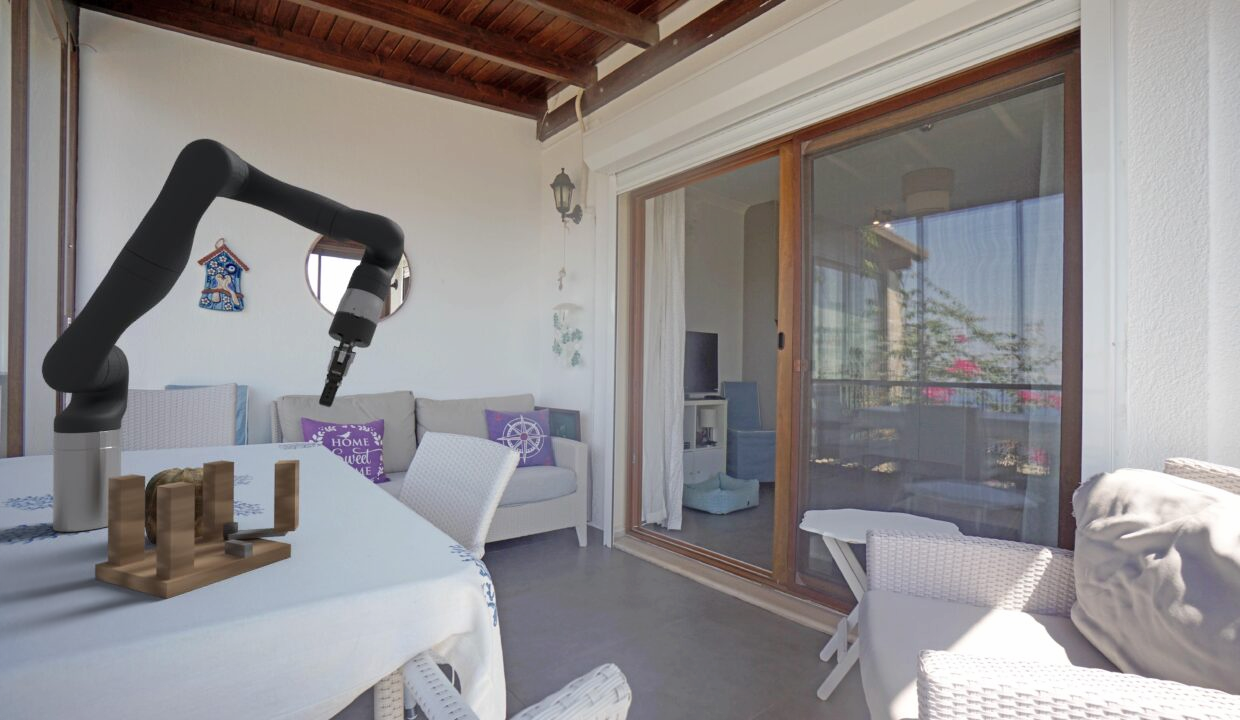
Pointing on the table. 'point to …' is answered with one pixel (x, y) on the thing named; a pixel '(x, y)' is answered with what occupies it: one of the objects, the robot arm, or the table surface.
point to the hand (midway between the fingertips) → (324, 405)
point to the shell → (167, 478)
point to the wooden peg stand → (179, 536)
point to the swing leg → (276, 505)
